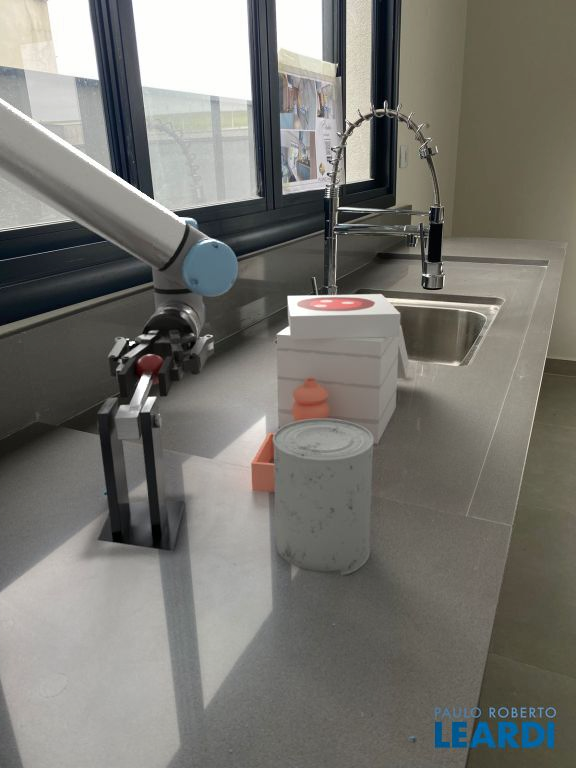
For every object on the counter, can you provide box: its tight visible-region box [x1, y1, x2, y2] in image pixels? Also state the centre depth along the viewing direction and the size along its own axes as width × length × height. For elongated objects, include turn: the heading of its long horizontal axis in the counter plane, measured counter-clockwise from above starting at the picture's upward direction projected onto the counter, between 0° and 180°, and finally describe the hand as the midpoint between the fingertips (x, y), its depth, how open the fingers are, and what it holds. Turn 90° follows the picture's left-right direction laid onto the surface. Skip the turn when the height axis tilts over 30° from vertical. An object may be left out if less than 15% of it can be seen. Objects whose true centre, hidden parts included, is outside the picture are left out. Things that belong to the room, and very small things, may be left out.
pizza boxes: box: [276, 293, 410, 445], centre depth 96 cm, size 19×30×18 cm, turn 161°
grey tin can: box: [273, 418, 374, 577], centre depth 59 cm, size 10×10×12 cm
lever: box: [114, 354, 164, 441], centre depth 66 cm, size 16×4×4 cm, turn 3°
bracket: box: [96, 396, 186, 552], centre depth 61 cm, size 10×8×15 cm
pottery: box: [250, 378, 330, 493], centre depth 77 cm, size 18×10×10 cm, turn 169°
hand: (142, 385), depth 66 cm, fingers closed on lever, 4 cm apart
